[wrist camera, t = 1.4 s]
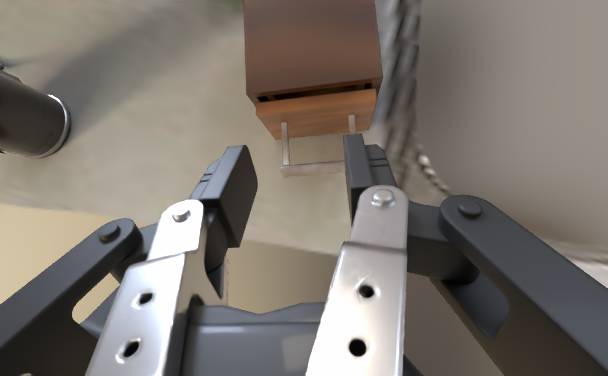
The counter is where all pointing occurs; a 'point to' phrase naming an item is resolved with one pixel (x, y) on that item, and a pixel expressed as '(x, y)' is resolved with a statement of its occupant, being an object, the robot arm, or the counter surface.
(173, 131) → the counter surface
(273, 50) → the cabinet
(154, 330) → the robot arm
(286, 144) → the drawer
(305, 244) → the counter surface
